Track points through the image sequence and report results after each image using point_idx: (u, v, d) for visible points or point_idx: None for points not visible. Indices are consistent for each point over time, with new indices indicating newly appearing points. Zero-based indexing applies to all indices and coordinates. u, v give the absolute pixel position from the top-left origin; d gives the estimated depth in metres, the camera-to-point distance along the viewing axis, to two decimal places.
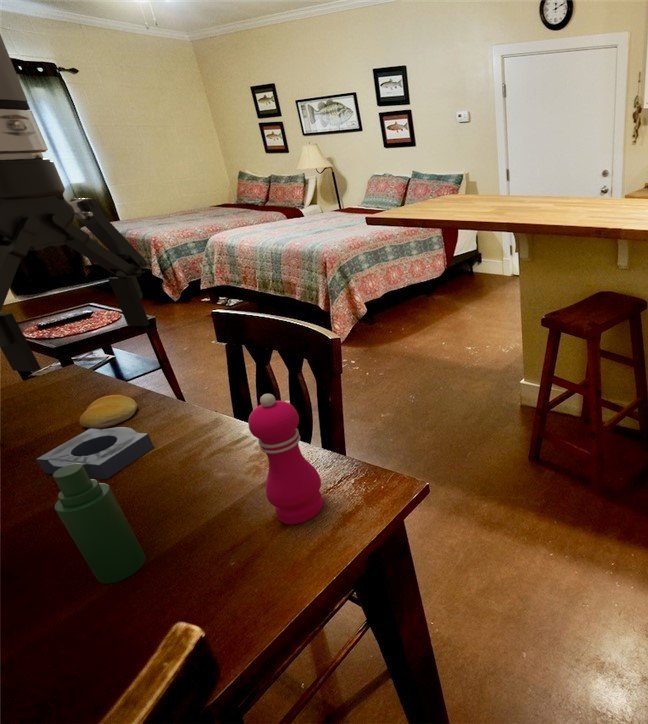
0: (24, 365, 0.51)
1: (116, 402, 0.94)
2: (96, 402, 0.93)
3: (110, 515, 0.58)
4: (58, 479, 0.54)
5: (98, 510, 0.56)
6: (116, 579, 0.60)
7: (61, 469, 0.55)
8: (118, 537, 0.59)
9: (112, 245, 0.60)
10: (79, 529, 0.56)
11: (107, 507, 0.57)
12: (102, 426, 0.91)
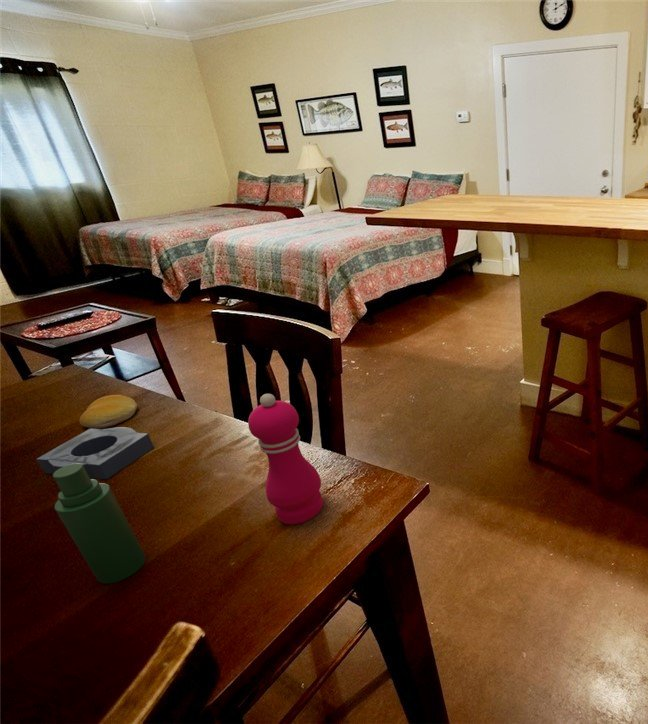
0: None
1: (116, 402, 0.94)
2: (96, 402, 0.93)
3: (110, 515, 0.58)
4: (58, 479, 0.54)
5: (98, 510, 0.56)
6: (116, 579, 0.60)
7: (61, 469, 0.55)
8: (118, 537, 0.59)
9: None
10: (79, 529, 0.56)
11: (107, 507, 0.57)
12: (102, 426, 0.91)
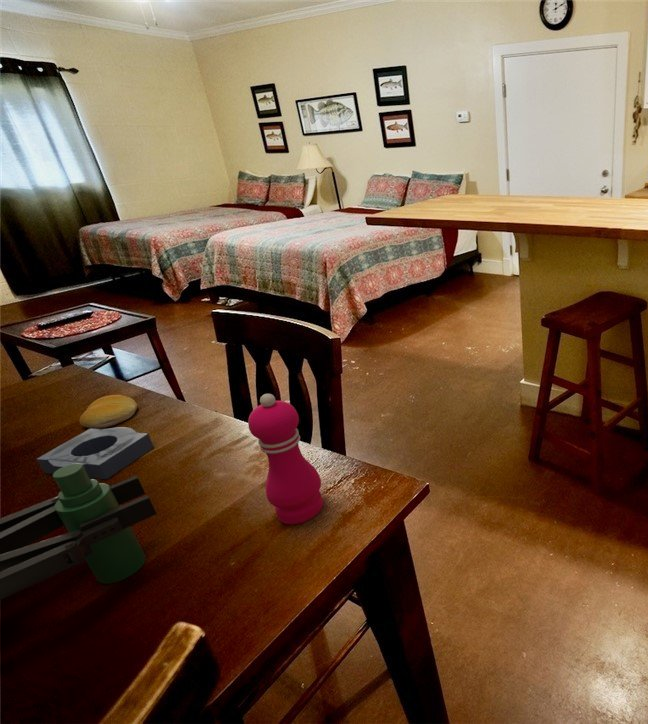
0: None
1: (116, 402, 0.94)
2: (96, 402, 0.93)
3: None
4: (58, 479, 0.54)
5: (98, 510, 0.56)
6: (116, 579, 0.60)
7: (61, 469, 0.55)
8: (118, 537, 0.59)
9: None
10: None
11: (107, 507, 0.57)
12: (102, 426, 0.91)
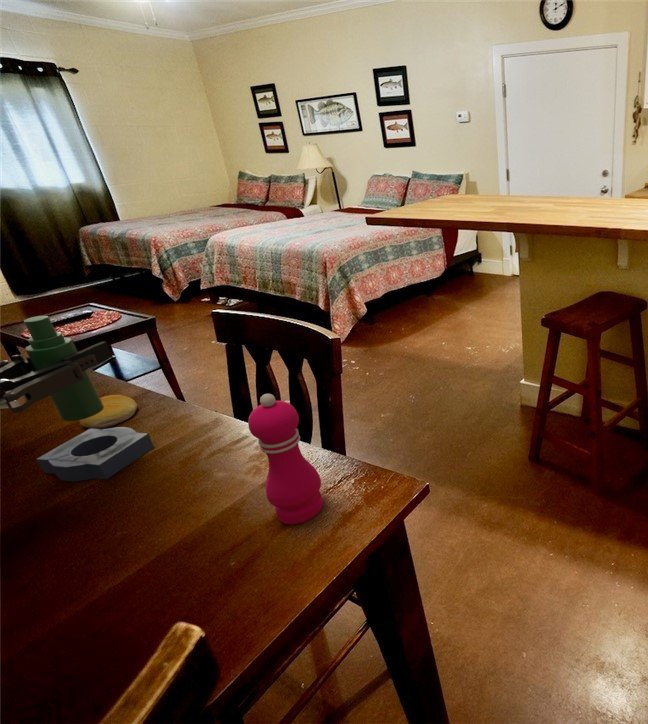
0: None
1: (116, 402, 0.94)
2: None
3: None
4: (34, 323, 0.67)
5: (72, 349, 0.71)
6: (91, 414, 0.74)
7: (28, 319, 0.68)
8: (87, 376, 0.73)
9: None
10: None
11: (75, 349, 0.72)
12: (102, 426, 0.91)
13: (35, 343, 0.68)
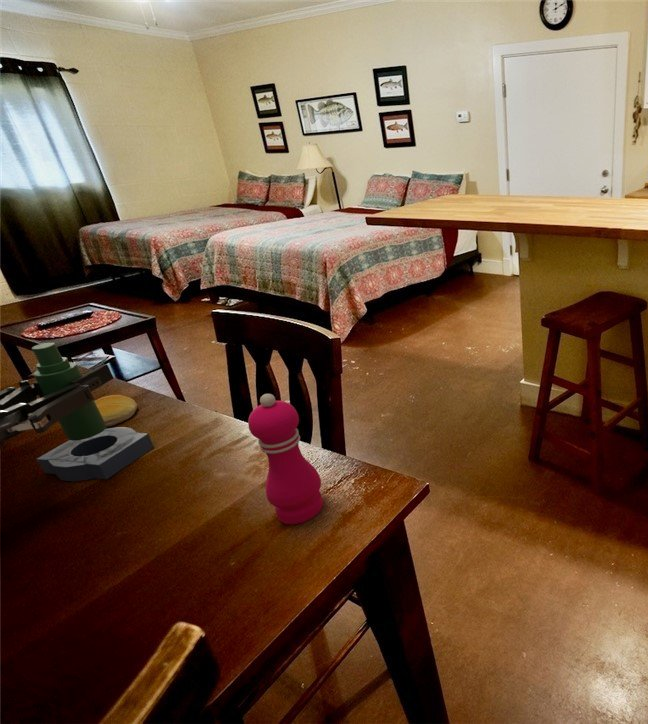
0: None
1: (116, 402, 0.94)
2: (96, 402, 0.93)
3: None
4: (43, 350, 0.72)
5: (77, 373, 0.76)
6: (96, 432, 0.79)
7: (35, 347, 0.72)
8: None
9: None
10: None
11: None
12: None
13: (44, 368, 0.73)
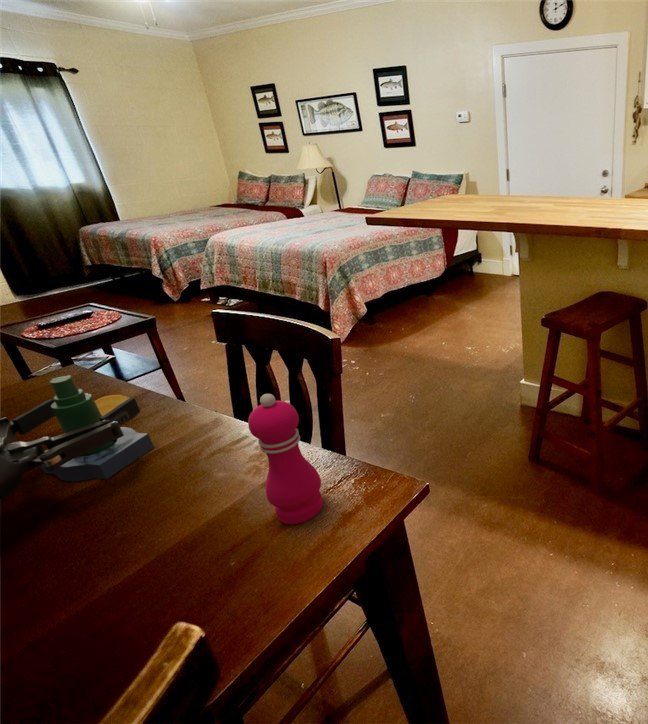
0: None
1: (116, 402, 0.94)
2: (96, 402, 0.93)
3: (98, 410, 0.80)
4: (61, 383, 0.75)
5: (93, 404, 0.78)
6: None
7: (53, 380, 0.75)
8: None
9: None
10: (83, 420, 0.77)
11: (95, 403, 0.79)
12: None
13: (61, 401, 0.75)
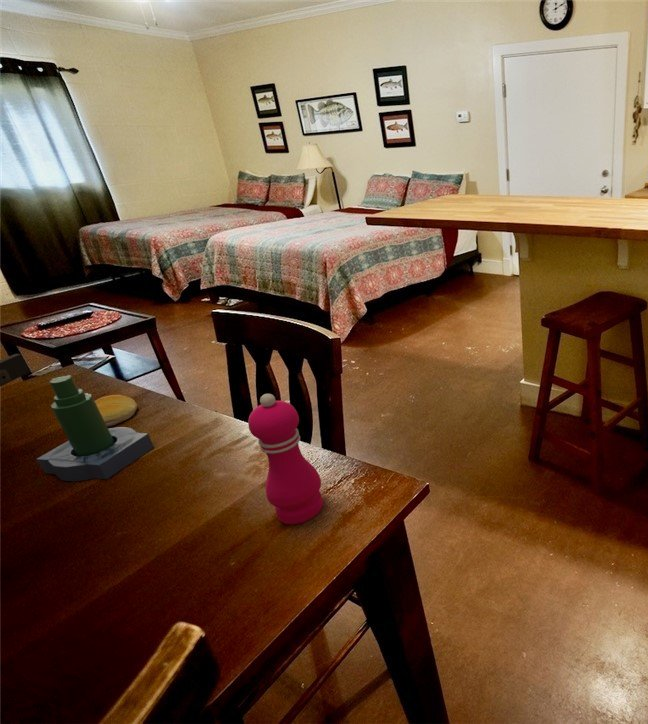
0: None
1: (116, 402, 0.94)
2: (96, 402, 0.93)
3: (98, 410, 0.80)
4: (61, 383, 0.75)
5: (93, 404, 0.78)
6: None
7: (53, 380, 0.75)
8: (105, 427, 0.81)
9: None
10: (83, 420, 0.77)
11: (95, 403, 0.79)
12: None
13: (61, 401, 0.75)
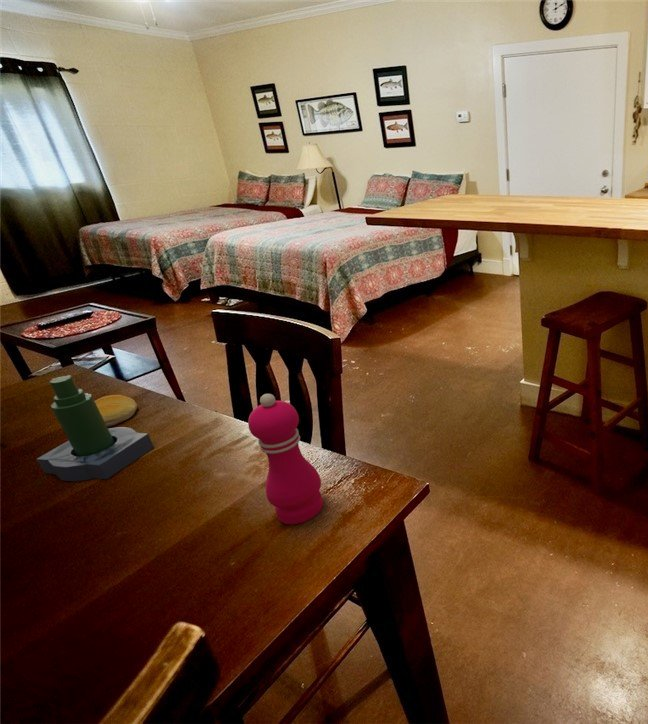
0: None
1: (116, 402, 0.94)
2: (96, 402, 0.93)
3: (98, 410, 0.80)
4: (61, 383, 0.75)
5: (93, 404, 0.78)
6: None
7: (53, 380, 0.75)
8: (105, 427, 0.81)
9: None
10: (83, 420, 0.77)
11: (95, 403, 0.79)
12: None
13: (61, 401, 0.75)
